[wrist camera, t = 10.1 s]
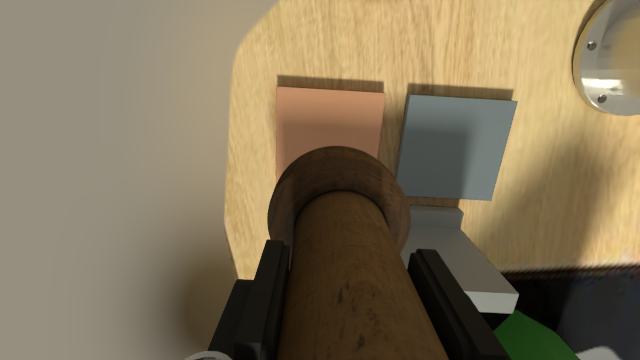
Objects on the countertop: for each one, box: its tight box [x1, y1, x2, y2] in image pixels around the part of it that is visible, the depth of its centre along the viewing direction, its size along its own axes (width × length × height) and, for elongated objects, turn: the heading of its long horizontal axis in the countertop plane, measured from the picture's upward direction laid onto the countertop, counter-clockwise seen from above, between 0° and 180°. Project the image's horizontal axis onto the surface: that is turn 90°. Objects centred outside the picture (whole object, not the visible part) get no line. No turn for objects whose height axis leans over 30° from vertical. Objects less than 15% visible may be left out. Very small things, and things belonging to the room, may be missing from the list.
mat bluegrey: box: [395, 94, 518, 201], centre depth 33 cm, size 11×11×1 cm
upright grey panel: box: [289, 205, 519, 314], centre depth 30 cm, size 20×6×12 cm, turn 87°
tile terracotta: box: [276, 86, 386, 184], centre depth 32 cm, size 11×11×1 cm
